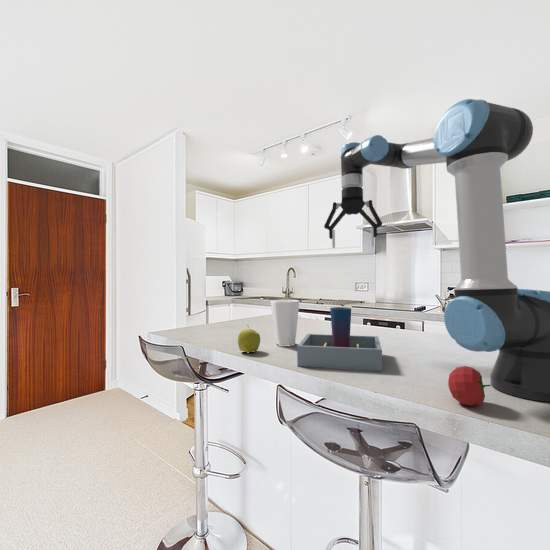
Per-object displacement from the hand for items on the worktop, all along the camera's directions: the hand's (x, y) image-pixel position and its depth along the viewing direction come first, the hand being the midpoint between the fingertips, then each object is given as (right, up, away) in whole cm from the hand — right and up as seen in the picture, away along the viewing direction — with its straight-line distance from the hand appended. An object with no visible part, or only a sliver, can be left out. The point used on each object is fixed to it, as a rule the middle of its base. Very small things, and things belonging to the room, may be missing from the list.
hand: (352, 247), depth 118 cm
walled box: (-7, -37, -14) cm, 40 cm away
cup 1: (-24, -37, +9) cm, 45 cm away
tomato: (+12, -37, -50) cm, 64 cm away
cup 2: (-6, -36, -10) cm, 38 cm away
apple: (-37, -38, -2) cm, 53 cm away
